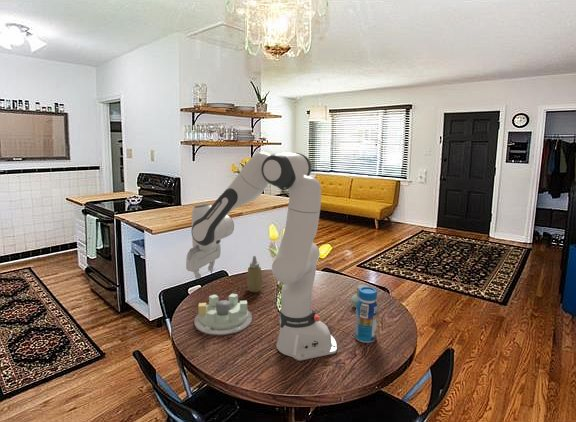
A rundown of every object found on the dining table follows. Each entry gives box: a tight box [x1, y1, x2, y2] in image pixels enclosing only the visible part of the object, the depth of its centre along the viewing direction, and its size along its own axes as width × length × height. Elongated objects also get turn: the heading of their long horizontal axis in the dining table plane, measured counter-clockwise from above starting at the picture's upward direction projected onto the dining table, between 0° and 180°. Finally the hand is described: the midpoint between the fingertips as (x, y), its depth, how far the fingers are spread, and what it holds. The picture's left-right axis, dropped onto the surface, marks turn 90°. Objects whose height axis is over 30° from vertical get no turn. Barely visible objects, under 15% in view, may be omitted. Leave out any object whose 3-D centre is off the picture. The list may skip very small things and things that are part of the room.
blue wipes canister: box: [354, 286, 379, 344], centre depth 142 cm, size 8×8×20 cm
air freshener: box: [350, 284, 370, 309], centre depth 168 cm, size 11×8×10 cm
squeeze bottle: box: [246, 255, 263, 293], centre depth 184 cm, size 8×8×18 cm
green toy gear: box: [197, 293, 249, 330], centre depth 155 cm, size 21×21×6 cm
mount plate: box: [193, 310, 253, 336], centre depth 155 cm, size 24×24×3 cm
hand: (204, 274), depth 155 cm, fingers open, 8 cm apart
